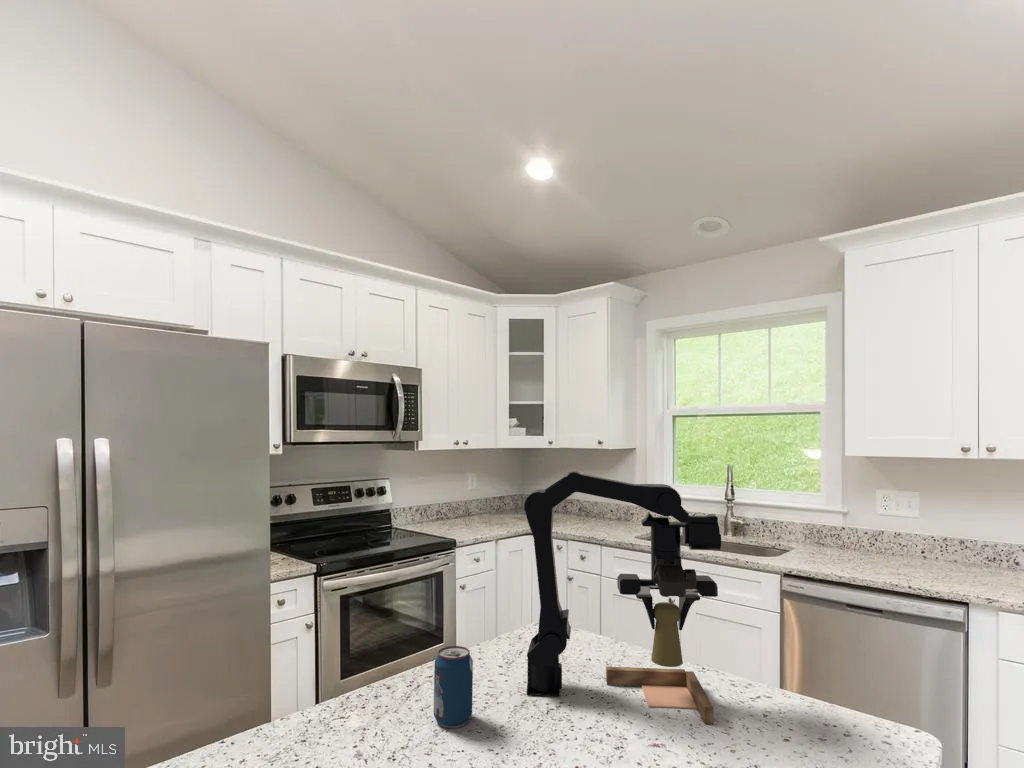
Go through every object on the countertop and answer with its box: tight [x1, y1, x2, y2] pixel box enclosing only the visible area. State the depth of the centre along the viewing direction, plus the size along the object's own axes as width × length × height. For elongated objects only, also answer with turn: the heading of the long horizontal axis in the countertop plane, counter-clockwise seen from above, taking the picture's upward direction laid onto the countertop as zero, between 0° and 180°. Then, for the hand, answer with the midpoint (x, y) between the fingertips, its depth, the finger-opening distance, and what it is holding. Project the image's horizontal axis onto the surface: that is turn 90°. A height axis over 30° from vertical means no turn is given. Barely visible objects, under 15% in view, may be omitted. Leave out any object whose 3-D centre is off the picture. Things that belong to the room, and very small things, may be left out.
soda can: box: [433, 645, 474, 729], centre depth 108 cm, size 7×7×12 cm
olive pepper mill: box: [650, 601, 684, 668], centre depth 118 cm, size 6×6×11 cm
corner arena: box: [605, 666, 715, 725], centre depth 116 cm, size 18×17×3 cm
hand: (666, 629), depth 118 cm, fingers closed on olive pepper mill, 5 cm apart
